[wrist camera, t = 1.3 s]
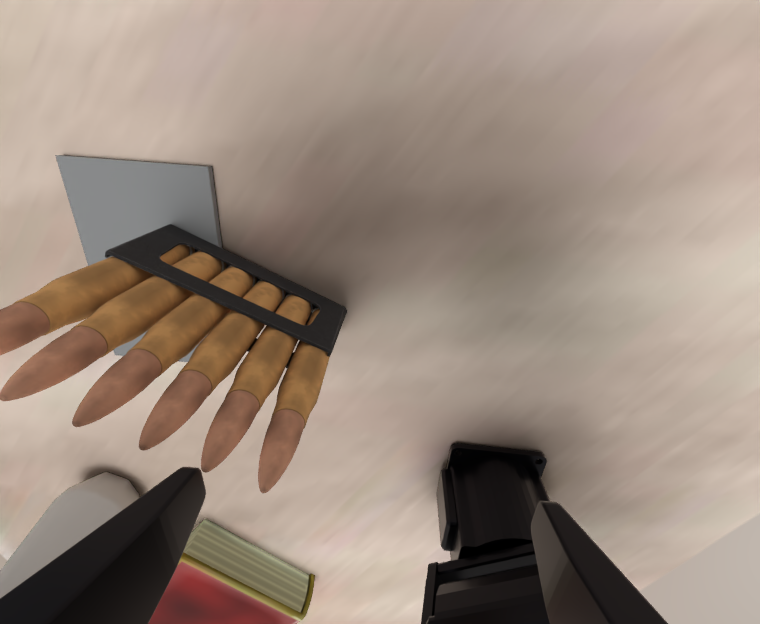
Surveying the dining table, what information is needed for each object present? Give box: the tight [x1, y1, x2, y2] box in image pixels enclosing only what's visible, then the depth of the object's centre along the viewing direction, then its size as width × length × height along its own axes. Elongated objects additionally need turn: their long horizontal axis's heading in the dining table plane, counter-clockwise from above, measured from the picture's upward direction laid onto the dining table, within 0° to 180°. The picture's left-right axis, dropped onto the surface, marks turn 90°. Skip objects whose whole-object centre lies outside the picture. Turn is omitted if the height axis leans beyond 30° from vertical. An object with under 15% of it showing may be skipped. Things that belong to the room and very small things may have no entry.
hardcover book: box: [148, 519, 315, 624], centre depth 34 cm, size 12×21×4 cm, turn 140°
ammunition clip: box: [0, 224, 347, 493], centre depth 15 cm, size 11×2×12 cm, turn 62°
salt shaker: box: [0, 472, 139, 598], centre depth 24 cm, size 6×6×13 cm
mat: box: [55, 155, 222, 362], centre depth 21 cm, size 8×12×1 cm, turn 176°
